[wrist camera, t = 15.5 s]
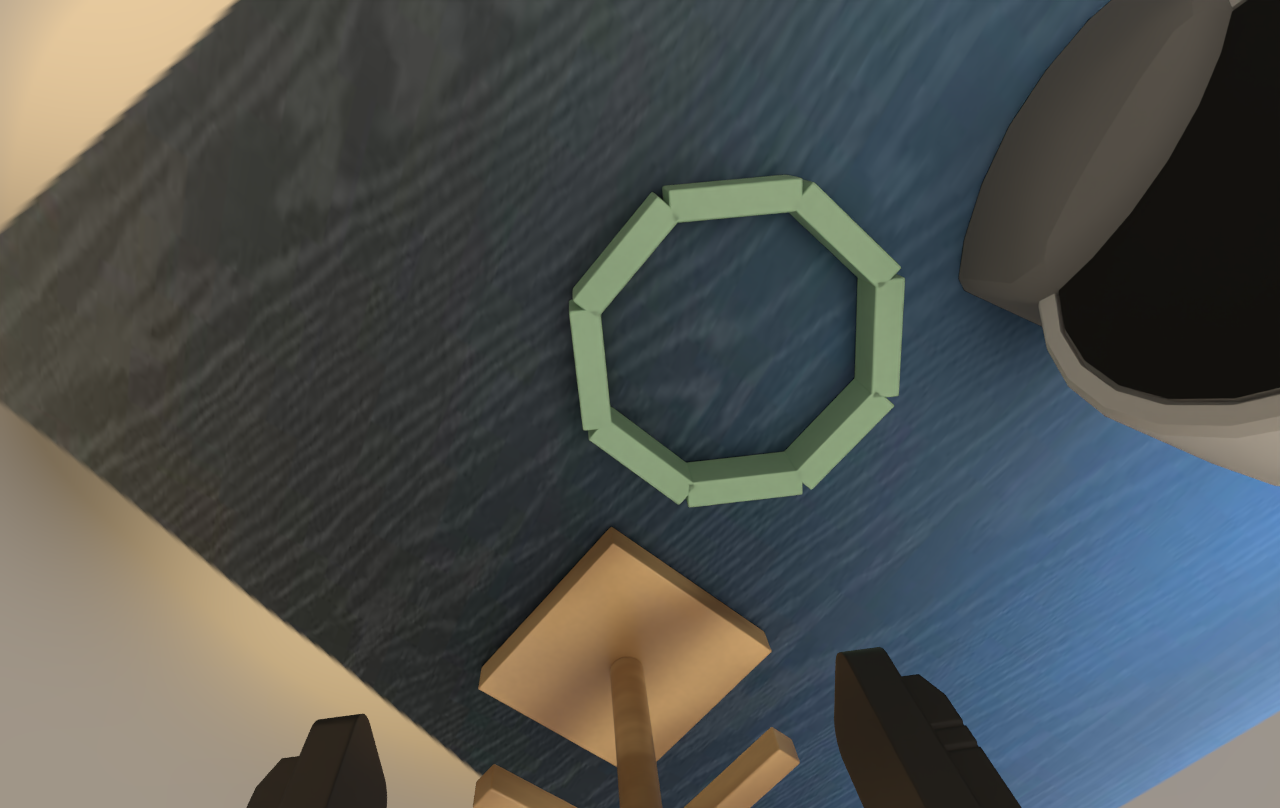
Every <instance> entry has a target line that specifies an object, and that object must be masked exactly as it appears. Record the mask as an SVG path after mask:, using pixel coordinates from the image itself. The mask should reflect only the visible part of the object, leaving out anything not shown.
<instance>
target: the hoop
mask: <svg viewBox="0 0 1280 808" xmlns="http://www.w3.org/2000/svg"><path fill="white" fill-rule="evenodd" d="M662 192H663V200H662V199H661V198H660V197H658V196H657V195H656V194H655V193H653V192H652V193H650V195H649V196H648V197H647V198H646V200H645V201H644V202H643V203H642V204H641V206H640V207H639V208H638V209H637V211H636V212H635V213H634V214H633V215H632V217H631V218H630V219H629V220H628V222H627V223H626V224H625V225H624V226H623V228H622V229H621V230H620V231H619V233H618V234H617V235H616V236H615V238H614V239H613V240H612V241H611V242H610V244H609V245H608V246H607V247H606V249H605V250H604V251H603V252H602V253H601V255H600V256H599V257H598V258H597V260H596V261H595V262H594V263H593V264H592V266H591V267H590V268H589V269H588V271H587V272H586V273H585V274H584V276H583V277H582V278H581V279H580V280H579V282H578V283H577V284H576V285H575V287H574V288H573V300H570V301H569V317H570V325H571V334H572V342H573V351H574V359H575V367H576V376H577V384H578V393H579V401H580V409H581V418H582V426H583V430H588V434H589V440H590V441H591V442H593V443H594V444H595V445H597V446H598V447H600V448H601V449H602V450H604V451H605V452H606V453H608V454H609V455H611V456H612V457H613V458H615V459H616V460H618V461H619V462H620V463H622V464H623V465H624V466H626V467H627V468H629V469H630V470H631V471H633V472H634V473H635V474H637V475H638V476H640V477H641V478H642V479H644V480H645V481H646V482H648V483H649V484H651V485H652V486H653V487H655V488H656V489H658V490H659V491H660V492H662V493H663V494H664V495H666V496H667V497H669V498H670V499H671V500H673V501H674V502H675V503H677V504H680V503H681V502H682V501H683V500H684V499H685V498H686V500H687V504H688V507H698V506H706V505H715V504H723V503H732V502H741V501H749V500H758V499H766V498H775V497H783V496H792V495H801V494H802V483H803V484H805V485H806V486H807V487H808V488H810V489H813V488H814V487H815V486H816V485H817V484H818V483H819V482H820V481H821V480H822V479H823V478H824V477H825V476H826V475H827V474H828V473H829V472H830V471H831V470H832V469H833V467H834V466H835V465H836V464H837V463H838V462H839V461H840V460H841V459H842V458H843V457H844V456H845V455H846V454H847V453H848V452H849V451H850V450H851V449H852V448H853V447H854V446H855V445H856V444H857V443H858V442H859V441H860V440H861V439H862V438H863V437H864V436H865V435H866V434H867V433H868V432H869V431H870V430H871V429H872V428H873V427H874V426H875V425H876V424H877V423H878V422H879V421H880V420H881V419H882V418H883V417H884V416H885V415H886V414H887V413H888V412H889V411H890V410H891V409H892V408H893V407H894V404H892V403H891V402H890V401H889V400H888V399H887V398H886V397H893V396H898V395H899V380H900V362H901V343H902V324H903V306H904V287H905V278H904V277H902V276H899V275H897V274H896V273H897V272H898V271H899V270H900V269H901V267H900V265H899V264H898V263H897V262H895V261H894V260H893V259H892V258H891V257H890V256H889V255H888V254H887V253H886V252H885V251H884V250H883V249H882V248H881V247H880V246H879V245H878V244H877V243H876V242H875V241H874V240H873V239H872V238H871V237H870V236H869V235H868V234H867V233H866V232H865V231H864V230H863V229H862V228H861V227H860V226H859V225H858V224H857V223H855V222H854V221H853V220H852V219H851V218H850V217H849V216H848V215H847V214H846V213H845V212H844V211H843V210H842V209H841V208H840V207H839V206H838V205H837V204H836V203H835V202H834V201H833V200H832V199H831V198H830V197H829V196H828V195H827V194H826V193H825V192H824V191H823V190H822V189H821V188H820V187H819V186H818V185H817V184H816V183H814V182H811V181H806V180H802V178H799V177H795V176H790V175H776V176H765V177H754V178H744V179H733V180H722V181H711V182H700V183H689V184H678V185H667V186H663V188H662ZM786 212H789V213H790V214H791V215H792V216H793V217H794V218H795V219H796V220H797V221H798V222H799V223H800V224H801V225H802V226H804V227H805V228H806V229H807V230H808V231H809V232H810V233H811V234H812V235H813V236H814V237H815V238H816V239H817V240H818V241H819V242H820V243H822V244H823V245H824V246H825V247H826V248H827V249H828V250H829V251H830V252H831V253H832V254H833V255H834V256H835V257H836V258H837V259H839V260H840V261H841V262H842V263H843V264H844V265H845V266H846V267H847V268H848V269H849V270H850V271H851V272H852V273H853V274H854V275H855V276H857V277H858V284H857V318H856V351H855V378H854V379H853V380H852V381H851V382H850V384H849V385H848V386H847V387H846V388H845V389H844V390H843V391H842V392H841V393H840V394H839V395H838V396H837V397H836V398H835V399H834V400H833V401H832V402H831V403H830V404H829V405H828V406H827V407H826V408H825V410H824V411H823V412H822V413H821V414H820V415H819V416H818V417H817V418H816V419H815V420H814V421H813V422H812V423H811V424H810V425H809V426H808V427H807V428H806V429H805V430H804V431H803V432H802V433H801V435H800V436H799V437H798V438H797V439H796V440H795V441H794V442H793V443H792V444H791V445H790V446H789V447H788V448H787V449H786V450H785V451H784V452H776V453H767V454H759V455H750V456H741V457H732V458H723V459H714V460H706V461H697V462H688V463H686V462H685V461H683V460H682V459H681V458H679V457H678V456H677V455H675V454H674V453H673V452H671V451H670V450H669V449H667V448H666V447H665V446H663V445H662V444H661V443H659V442H658V441H657V440H655V439H654V438H653V437H651V436H650V435H649V434H647V433H646V432H645V431H643V430H642V429H641V428H639V427H638V426H637V425H635V424H634V423H633V422H631V421H630V420H629V419H627V418H626V417H625V416H623V415H622V414H621V413H619V412H618V411H617V410H615V409H614V408H613V407H611V406H610V400H609V390H608V380H607V370H606V361H605V351H604V341H603V331H602V322H601V314H602V312H603V311H604V310H605V309H606V308H607V306H608V305H609V304H610V303H611V302H612V301H613V299H614V298H615V297H616V296H617V295H618V293H619V292H620V291H621V290H622V289H623V287H624V286H625V285H626V284H627V283H628V281H629V280H630V279H631V278H632V277H633V275H634V274H635V273H636V272H637V271H638V269H639V268H640V267H641V266H642V265H643V263H644V262H645V261H646V260H647V259H648V257H649V256H650V255H651V254H652V253H653V251H654V250H655V249H656V248H657V247H658V245H659V244H660V243H661V242H662V241H663V239H664V238H665V237H666V236H667V235H668V233H669V232H670V231H671V230H672V229H673V227H674V226H675V225H676V224H677V223H681V222H691V221H702V220H713V219H723V218H734V217H744V216H755V215H765V214H776V213H786Z"/></svg>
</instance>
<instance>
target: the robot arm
mask: <svg viewBox="0 0 1280 808" xmlns="http://www.w3.org/2000/svg"><path fill="white" fill-rule="evenodd" d="M834 725H835V733H836V738H837V743H838V747H839V750H840V753H841V756H842V759H843V761H844V764H845V766H846V768H847V770H848V773H849V775H850V777H851V779H852V782H853V784H854V786H855V788H856V791H857V793H858V795H859V798H860V800H861V802H862V804H863V807H864V808H1021V806H1020V805H1019V803H1018V802H1017V800H1016V799H1015V797H1014V796H1013V794H1012V793H1011V791H1010V790H1009V788H1008V787H1007V785H1006V784H1005V782H1004V781H1003V779H1002V778H1001V777H1000V775H999V774H998V772H997V771H996V769H995V768H994V766H993V765H992V763H991V762H990V760H989V759H988V757H987V756H986V754H985V753H984V751H983V750H982V748H981V747H978V745H977V741H976V739H975V738H974V736H973V735H972V733H971V732H970V731H969V729H968V728H967V726H966V725H965V726H964V724H963V720H962V719H961V717H960V716H959V714H958V713H957V711H956V710H955V708H954V707H953V705H952V704H951V702H950V701H949V699H948V698H947V696H946V695H945V694H944V693H943V692H941V691H940V690H939V689H937V688H936V687H935V686H933V685H932V684H931V683H929V682H928V681H927V680H926V679H924V678H923V677H922V676H920V675H919V674H916V675H909V676H902V677H901V675H900V674H899V672H898V670H897V669H896V667H895V665H894V664H893V662H892V661H891V659H890V657H889V656H888V654H887V653H886V651H885V650H884V649H883V648H881V647H876V648H869V649H861V650H853V651H846V652H839V653H838V654H837V656H836V668H835V707H834ZM386 807H387V790H386V782H385V778H384V774H383V770H382V766H381V763H380V759H379V756H378V752H377V748H376V745H375V741H374V738H373V734H372V730H371V726H370V723H369V720H368V718H367V716H366V715H365V714H357V715H350V716H342V717H334V718H327V719H320V720H317V721H316V722H315V723H314V724H313V725H312V728H311V730H310V732H309V734H308V737H307V739H306V741H305V744H304V746H303V749H302V751H301V753H300V756H297V757H289V758H282V759H281V760H280V761H279V762H278V763H277V765H276V766H275V767H274V768H273V769H272V770H271V771H270V772H269V773H268V774H267V776H266V777H265V778H264V779H263V780H262V781H261V782H260V784H259V785H258V786H257V787H256V788H255V791H254V793H253V795H252V797H251V799H250V801H249V803H248V806H247V808H386Z"/></svg>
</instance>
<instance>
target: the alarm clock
mask: <svg viewBox="0 0 1280 808" xmlns="http://www.w3.org/2000/svg"><path fill="white" fill-rule="evenodd" d="M959 280H960V282H961V284H962V286H963V289H964V291H967V292H969V293H971V294H973V295H975V296H977V297H979V298H982V299H984V300H986V301H988V302H990V303H992V304H995V305H997V306H999V307H1001V308H1003V309H1005V310H1007V311H1010V312H1012V313H1014V314H1016V315H1018V316H1020V317H1022V318H1025V319H1027V320H1029V321H1031V322H1033V323H1035V324H1038V325H1040V326H1042V327H1043V332H1044V337H1045V342H1046V347H1047V350H1048V352H1049V354H1050V355H1051V357H1052V359H1053V361H1054V362H1055V364H1056V366H1057V368H1058V369H1059V371H1060V373H1061V374H1062V376H1063V378H1064V380H1065V381H1066V383H1067V385H1068V387H1070V388H1071V389H1072V390H1073V391H1075V392H1076V393H1077V394H1078V395H1080V396H1081V397H1082V398H1083V399H1085V400H1086V401H1087V402H1088V403H1090V404H1091V405H1092V406H1093V407H1095V408H1096V409H1097V410H1098V411H1100V412H1101V413H1102V414H1103V415H1105V416H1106V417H1108V418H1110V419H1113V420H1115V421H1117V422H1120V423H1122V424H1124V425H1126V426H1129V427H1131V428H1133V429H1135V430H1138V431H1140V432H1142V433H1144V434H1147V435H1149V436H1151V437H1154V438H1156V439H1158V440H1160V441H1163V442H1165V443H1167V444H1169V445H1172V446H1174V447H1176V448H1178V449H1181V450H1183V451H1185V452H1187V453H1190V454H1192V455H1194V456H1197V457H1199V458H1201V459H1203V460H1206V461H1208V462H1210V463H1213V464H1215V465H1218V466H1221V467H1224V468H1227V469H1229V470H1232V471H1235V472H1238V473H1241V474H1243V475H1246V476H1249V477H1252V478H1255V479H1258V480H1260V481H1263V482H1266V483H1269V484H1272V485H1274V486H1280V0H1111V1H1110V2H1109V3H1108V4H1107V5H1105V6H1104V7H1103V8H1102V9H1101V10H1100V11H1099V12H1097V13H1096V14H1095V15H1094V16H1093V17H1092V18H1091V19H1089V20H1088V22H1087V23H1086V24H1085V25H1084V26H1083V27H1082V29H1081V30H1080V31H1079V32H1078V33H1077V35H1076V36H1075V37H1074V38H1073V39H1072V40H1071V42H1070V43H1069V44H1068V45H1067V46H1066V48H1065V49H1064V50H1063V51H1062V52H1061V53H1060V55H1059V56H1058V57H1057V58H1056V59H1055V61H1054V62H1053V63H1052V64H1051V65H1050V66H1049V68H1048V69H1047V70H1046V71H1045V73H1044V74H1043V76H1042V77H1041V79H1040V80H1039V82H1038V83H1037V85H1036V86H1035V88H1034V89H1033V91H1032V92H1031V94H1030V96H1029V97H1028V99H1027V100H1026V102H1025V103H1024V105H1023V106H1022V108H1021V109H1020V111H1019V112H1018V114H1017V115H1016V117H1015V118H1014V120H1013V121H1012V123H1011V124H1010V126H1009V128H1008V130H1007V132H1006V134H1005V136H1004V138H1003V141H1002V143H1001V145H1000V147H999V149H998V151H997V153H996V156H995V158H994V160H993V162H992V164H991V166H990V168H989V171H988V173H987V175H986V177H985V179H984V181H983V183H982V186H981V189H980V192H979V195H978V198H977V202H976V205H975V208H974V211H973V214H972V217H971V220H970V224H969V227H968V230H967V233H966V236H965V239H964V246H963V253H962V259H961V266H960V273H959Z"/></svg>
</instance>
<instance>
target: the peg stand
mask: <svg viewBox="0 0 1280 808" xmlns="http://www.w3.org/2000/svg"><path fill="white" fill-rule="evenodd" d="M770 652H771V648H770V646H769V643H768V641H767V638H766V635H765V633H764V631H762V630H761V629H759V628H758V627H756V626H755V625H754V624H752V623H751V622H749V621H748V620H746V619H745V618H743V617H742V616H740V615H739V614H738V613H736V612H735V611H733V610H732V609H730V608H729V607H727V606H726V605H725V604H723V603H722V602H720V601H719V600H717V599H716V598H714V597H713V596H711V595H710V594H709V593H707V592H706V591H704V590H703V589H701V588H700V587H698V586H697V585H695V584H694V583H693V582H691V581H690V580H688V579H687V578H685V577H684V576H682V575H681V574H680V573H678V572H677V571H675V570H674V569H672V568H671V567H669V566H668V565H666V564H665V563H664V562H662V561H661V560H659V559H658V558H656V557H655V556H653V555H652V554H651V553H649V552H648V551H646V550H645V549H643V548H642V547H640V546H639V545H637V544H636V543H635V542H633V541H632V540H630V539H629V538H627V537H626V536H624V535H623V534H621V533H620V532H619V531H617V530H616V529H614V528H613V527H610V528H609V529H608V530H607V532H606V533H605V534H604V535H603V536H602V537H601V538H600V539H599V540H598V541H597V542H596V544H595V545H594V546H593V547H592V548H591V549H590V550H589V551H588V552H587V553H586V554H585V556H584V557H583V558H582V559H581V560H580V561H579V562H578V563H577V564H576V565H575V566H574V567H573V569H572V570H571V571H570V572H569V573H568V574H567V575H566V576H565V577H564V578H563V579H562V581H561V582H560V583H559V584H558V585H557V586H556V587H555V588H554V589H553V590H552V591H551V593H550V594H549V595H548V596H547V597H546V598H545V599H544V600H543V601H542V602H541V603H540V605H539V606H538V607H537V608H536V609H535V610H534V611H533V612H532V613H531V614H530V615H529V616H528V618H527V619H526V620H525V621H524V622H523V623H522V624H521V625H520V626H519V627H518V628H517V630H516V631H515V632H514V633H513V634H512V635H511V636H510V637H509V638H508V639H507V640H506V642H505V643H504V644H503V645H502V646H501V647H500V648H499V649H498V650H497V651H496V652H495V654H494V655H493V656H492V657H491V658H490V659H489V660H488V661H487V662H486V663H485V664H484V666H483V667H482V669H481V675H480V682H479V689H480V690H481V691H483V692H485V693H487V694H488V695H490V696H492V697H494V698H496V699H497V700H499V701H501V702H503V703H504V704H506V705H508V706H510V707H512V708H513V709H515V710H517V711H519V712H520V713H522V714H524V715H526V716H528V717H529V718H531V719H533V720H535V721H536V722H538V723H540V724H542V725H544V726H545V727H547V728H549V729H551V730H552V731H554V732H556V733H558V734H560V735H561V736H563V737H565V738H567V739H568V740H570V741H572V742H574V743H575V744H577V745H579V746H581V747H583V748H584V749H586V750H588V751H590V752H591V753H593V754H595V755H597V756H599V757H600V758H602V759H604V760H606V761H607V762H609V763H611V764H613V765H615V766H616V767H617V773H618V786H619V800H620V808H662V801H661V794H660V787H659V779H658V772H657V765H656V762H657V761H658V760H659V759H660V758H661V757H662V756H663V755H664V754H665V753H666V752H667V751H668V750H669V749H670V748H671V747H672V746H673V745H674V744H675V743H676V742H677V741H679V740H680V739H681V738H682V737H683V736H684V735H685V734H686V733H687V732H688V731H689V730H690V729H691V728H692V727H693V726H694V725H695V724H696V723H697V722H698V721H699V720H700V719H702V718H703V717H704V716H705V715H706V714H707V713H708V712H709V711H710V710H711V709H712V708H713V707H714V706H715V705H716V704H717V703H718V702H719V701H720V700H721V699H722V698H723V697H724V696H726V695H727V694H728V693H729V692H730V691H731V690H732V689H733V688H734V687H735V686H736V685H737V684H738V683H739V682H740V681H741V680H742V679H743V678H744V677H745V676H746V675H747V674H748V673H750V672H751V671H752V670H753V669H754V668H755V667H756V666H757V665H758V664H759V663H760V662H761V661H762V660H763V659H764V658H765V657H766V656H767V655H768V654H769V653H770ZM799 763H800V761H799V758H798V756H797V753H796V750H795V747H794V745H793V742H792V740H791V739H790V738H789V737H787V736H785V735H784V734H782V733H781V732H779V731H778V730H776V729H774V728H773V727H771V728H770V729H768V730H767V731H766V732H765V733H764V734H763V735H762V736H761V737H760V738H759V739H758V740H757V741H755V742H754V743H753V744H752V745H751V746H750V747H749V748H748V749H747V750H746V751H745V752H744V753H742V754H741V755H740V756H739V757H738V758H737V759H736V760H735V761H734V762H733V763H732V764H731V765H729V766H728V767H727V768H726V769H725V770H724V771H723V772H722V773H721V774H720V775H719V776H718V777H717V778H715V779H714V780H713V781H712V782H711V783H710V784H709V785H708V786H707V787H706V788H705V789H704V790H702V791H701V792H700V793H699V794H698V795H697V796H696V797H695V798H694V799H693V800H692V801H691V802H689V803H688V804H687V805H686V806H685V807H684V808H750V807H751V806H753V805H754V804H755V803H756V802H757V801H758V800H759V799H760V798H761V797H763V796H764V795H765V794H766V793H767V792H768V791H769V790H770V789H771V788H773V787H774V786H775V785H776V784H777V783H778V782H779V781H780V780H782V779H783V778H784V777H785V776H786V775H787V774H788V773H789V772H790V771H792V770H793V769H794V768H795V767H796V766H797V765H798V764H799ZM473 808H577V807H575V806H573V805H571V804H569V803H567V802H565V801H563V800H561V799H560V798H558V797H556V796H554V795H552V794H550V793H548V792H546V791H544V790H543V789H541V788H539V787H537V786H535V785H533V784H531V783H529V782H527V781H526V780H524V779H522V778H520V777H518V776H516V775H514V774H512V773H510V772H509V771H507V770H505V769H503V768H501V767H499V766H497V765H495V764H494V765H492V766H491V767H490V768H489V769H488V771H487V772H486V773H485V774H484V775H483V776H482V777H481V778H480V779H479V780H478V781H477V782H476V788H475V796H474V803H473Z"/></svg>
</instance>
